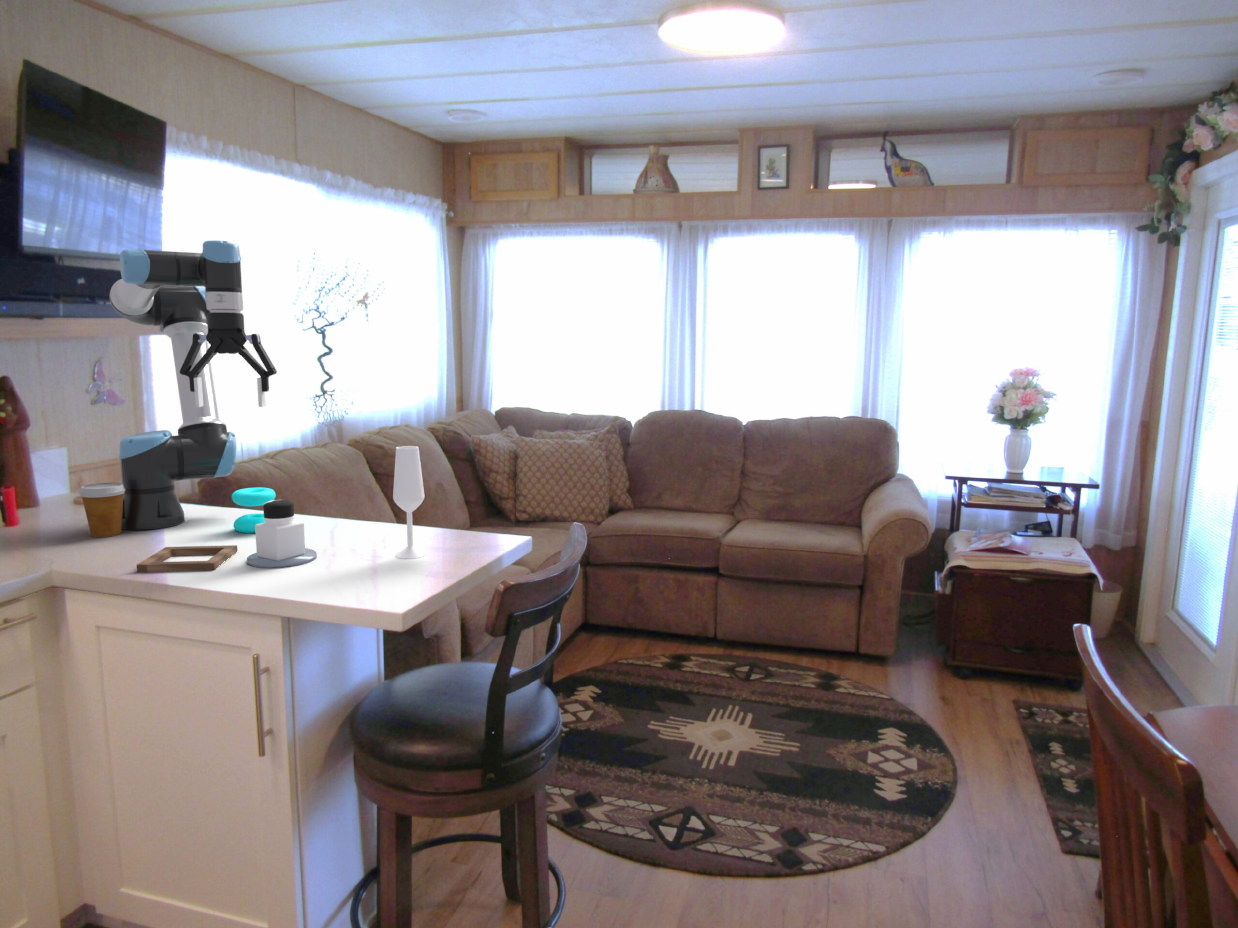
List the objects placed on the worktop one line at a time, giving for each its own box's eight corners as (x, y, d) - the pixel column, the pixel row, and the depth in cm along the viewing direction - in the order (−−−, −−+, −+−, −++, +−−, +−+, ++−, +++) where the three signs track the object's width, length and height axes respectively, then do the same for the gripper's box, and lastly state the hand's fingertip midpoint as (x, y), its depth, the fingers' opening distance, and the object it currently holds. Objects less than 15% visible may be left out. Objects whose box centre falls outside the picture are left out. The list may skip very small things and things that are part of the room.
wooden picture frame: (166, 553, 186) (166, 546, 186) (237, 551, 188) (237, 545, 188) (136, 572, 172) (136, 564, 171) (214, 570, 173) (214, 562, 173)
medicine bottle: (306, 554, 183) (303, 500, 182) (278, 561, 177) (275, 505, 175) (284, 549, 187) (281, 496, 185) (256, 556, 181) (252, 502, 179)
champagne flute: (410, 560, 182) (407, 450, 178) (388, 555, 185) (384, 447, 182) (432, 553, 188) (429, 446, 184) (410, 549, 191) (407, 444, 188)
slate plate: (258, 551, 188) (257, 548, 188) (322, 550, 190) (322, 546, 190) (238, 568, 174) (237, 565, 174) (308, 566, 176) (308, 563, 176)
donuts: (243, 486, 213) (282, 486, 213) (245, 524, 215) (284, 525, 215) (223, 493, 204) (264, 494, 203) (226, 533, 205) (266, 534, 205)
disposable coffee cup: (137, 530, 208) (133, 482, 206) (111, 539, 199) (106, 489, 197) (101, 529, 209) (97, 481, 207) (73, 538, 199) (68, 488, 198)
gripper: (159, 310, 184) (166, 407, 187) (278, 312, 187) (283, 407, 190) (172, 311, 191) (179, 405, 195) (287, 313, 194) (291, 404, 198)
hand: (230, 406), depth 192 cm, fingers open, 13 cm apart
